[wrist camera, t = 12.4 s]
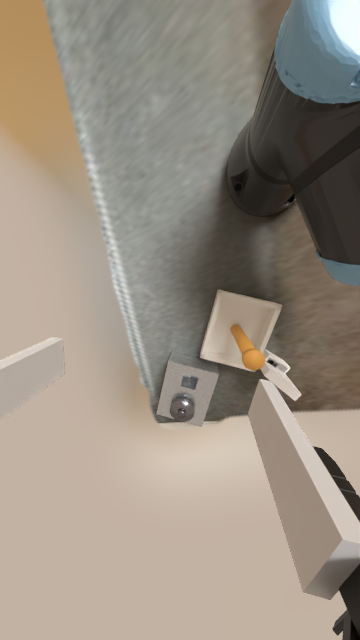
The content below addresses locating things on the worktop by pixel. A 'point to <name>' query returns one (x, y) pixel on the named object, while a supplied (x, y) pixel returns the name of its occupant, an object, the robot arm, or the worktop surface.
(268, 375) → the white wedge bracket
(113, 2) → the worktop surface
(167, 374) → the block
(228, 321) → the tray
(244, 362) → the lock pin
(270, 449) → the robot arm
